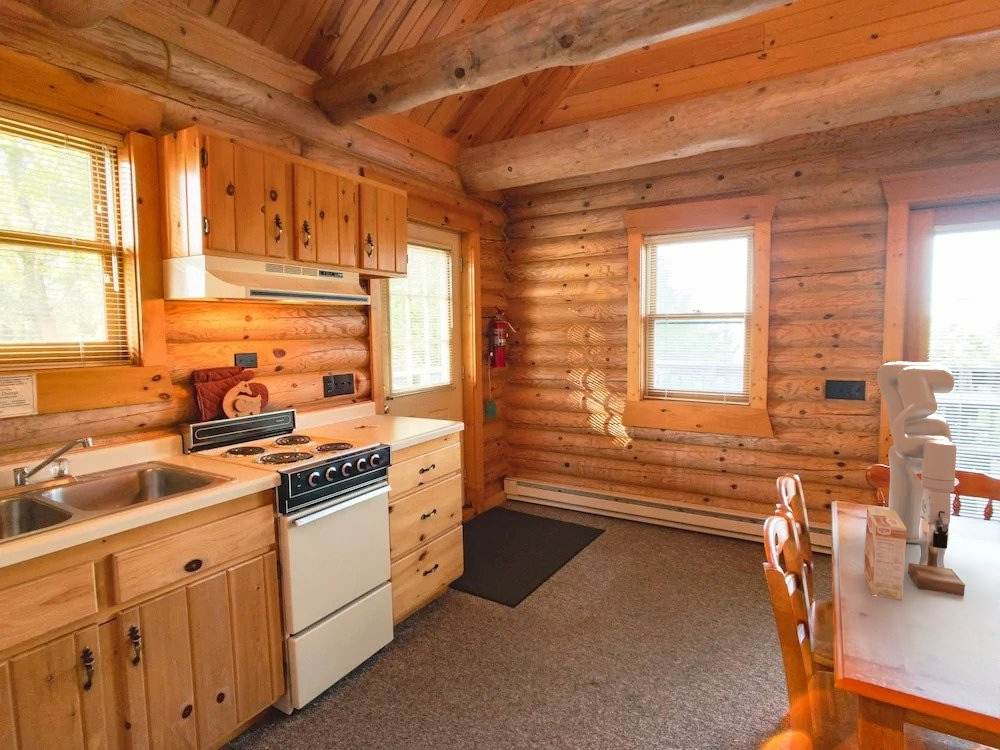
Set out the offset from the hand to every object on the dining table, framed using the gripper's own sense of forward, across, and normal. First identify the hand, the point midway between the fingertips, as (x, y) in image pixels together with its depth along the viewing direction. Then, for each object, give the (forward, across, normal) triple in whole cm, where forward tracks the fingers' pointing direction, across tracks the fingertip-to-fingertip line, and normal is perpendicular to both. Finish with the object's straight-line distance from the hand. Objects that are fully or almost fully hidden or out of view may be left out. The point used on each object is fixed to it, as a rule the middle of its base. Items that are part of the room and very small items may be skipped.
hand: (934, 541), depth 161 cm
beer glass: (+9, -1, 0) cm, 9 cm away
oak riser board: (+9, +10, -2) cm, 13 cm away
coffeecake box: (+9, +16, -16) cm, 24 cm away
